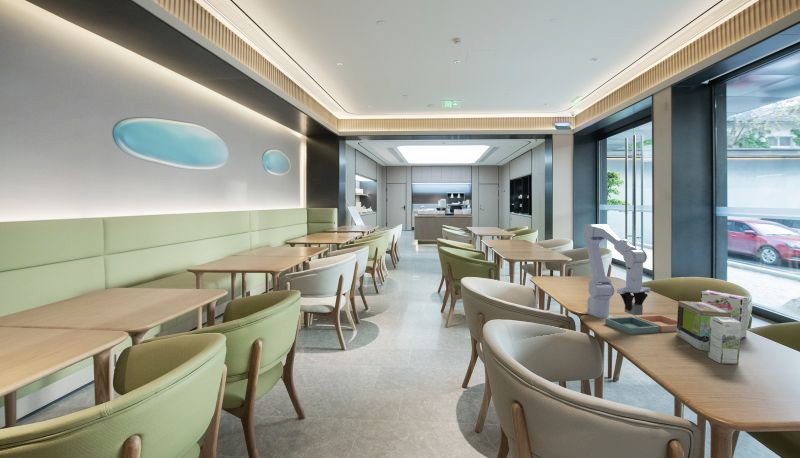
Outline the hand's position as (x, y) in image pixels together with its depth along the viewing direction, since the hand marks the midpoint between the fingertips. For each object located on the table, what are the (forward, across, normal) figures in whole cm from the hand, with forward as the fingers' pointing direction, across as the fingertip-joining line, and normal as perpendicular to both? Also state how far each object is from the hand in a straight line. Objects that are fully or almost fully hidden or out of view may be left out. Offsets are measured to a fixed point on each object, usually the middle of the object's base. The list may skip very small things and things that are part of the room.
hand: (633, 309), depth 153 cm
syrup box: (+9, +4, -33) cm, 34 cm away
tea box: (+9, +12, -19) cm, 24 cm away
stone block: (+1, 0, 0) cm, 1 cm away
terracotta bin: (+8, +14, 0) cm, 17 cm away
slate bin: (+8, -1, 0) cm, 8 cm away
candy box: (+9, +32, -11) cm, 35 cm away
